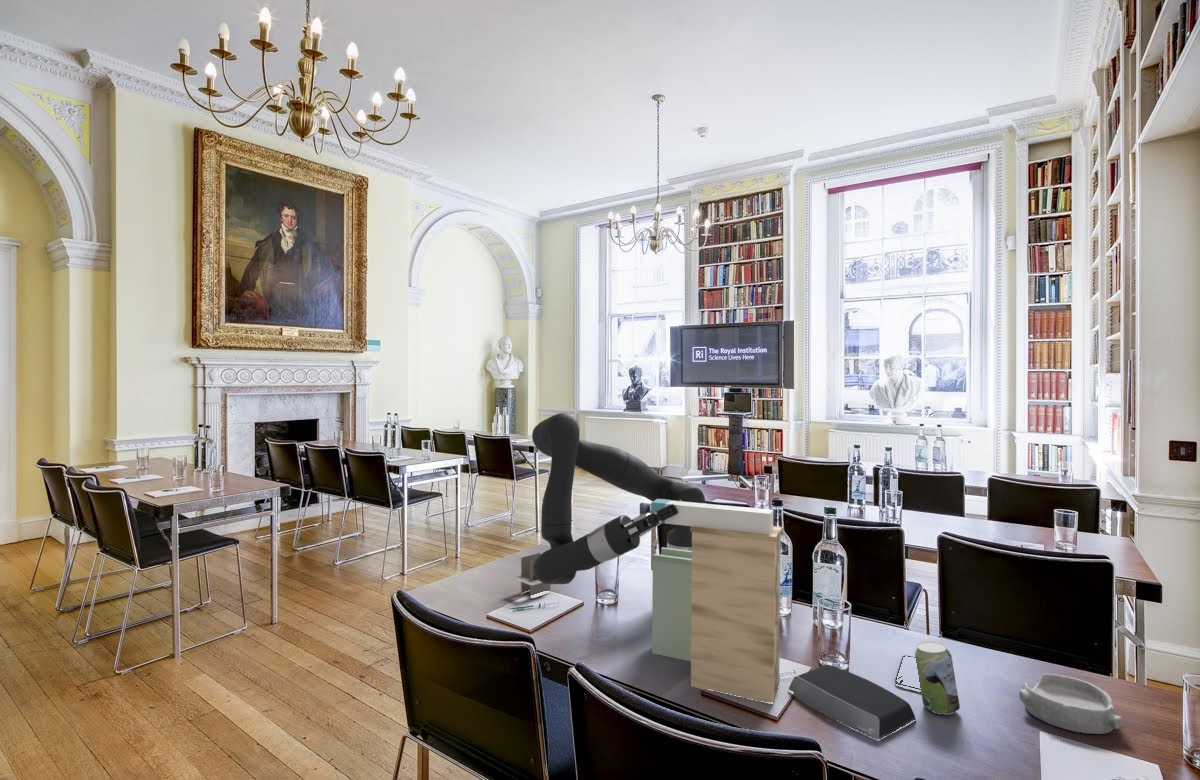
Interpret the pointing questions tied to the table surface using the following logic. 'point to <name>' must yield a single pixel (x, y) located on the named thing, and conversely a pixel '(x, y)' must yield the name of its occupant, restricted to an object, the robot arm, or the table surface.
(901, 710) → the external hard drive
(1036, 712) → the dish
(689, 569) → the sage green upright box
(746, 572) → the oak stand
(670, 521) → the white teal square bar
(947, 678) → the beverage can
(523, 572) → the architectural model
